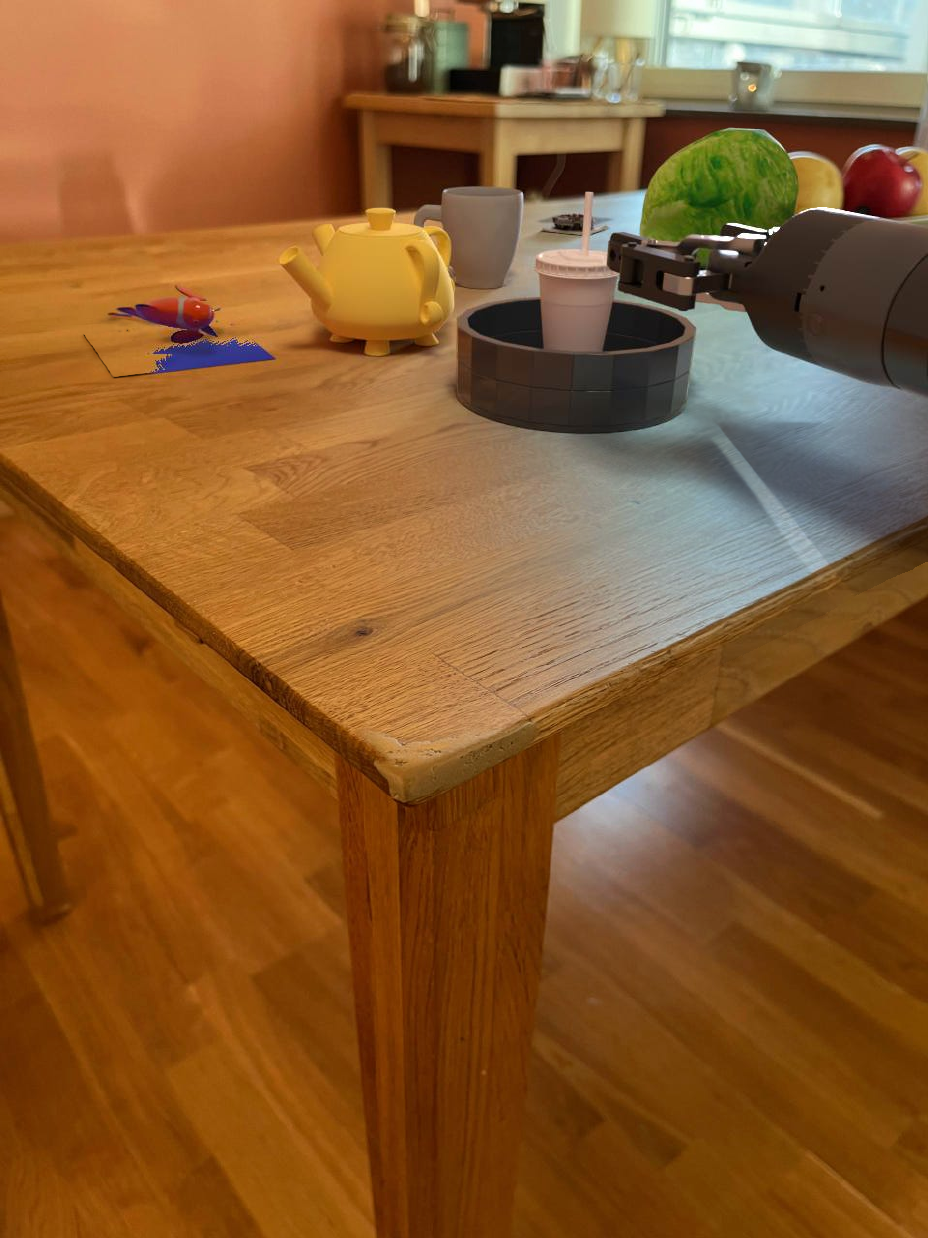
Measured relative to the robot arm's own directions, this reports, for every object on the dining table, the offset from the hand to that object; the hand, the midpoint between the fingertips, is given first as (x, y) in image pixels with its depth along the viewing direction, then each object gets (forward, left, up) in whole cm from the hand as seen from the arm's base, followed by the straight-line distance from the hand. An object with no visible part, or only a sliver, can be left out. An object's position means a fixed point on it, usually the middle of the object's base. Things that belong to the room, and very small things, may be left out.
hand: (669, 245), depth 62 cm
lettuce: (-20, -60, -13) cm, 65 cm away
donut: (-8, -88, -13) cm, 89 cm away
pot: (+4, -9, -13) cm, 16 cm away
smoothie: (+4, -9, -12) cm, 16 cm away
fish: (+37, -23, -13) cm, 46 cm away
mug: (+10, -50, -13) cm, 53 cm away
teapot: (+20, -25, -13) cm, 35 cm away
